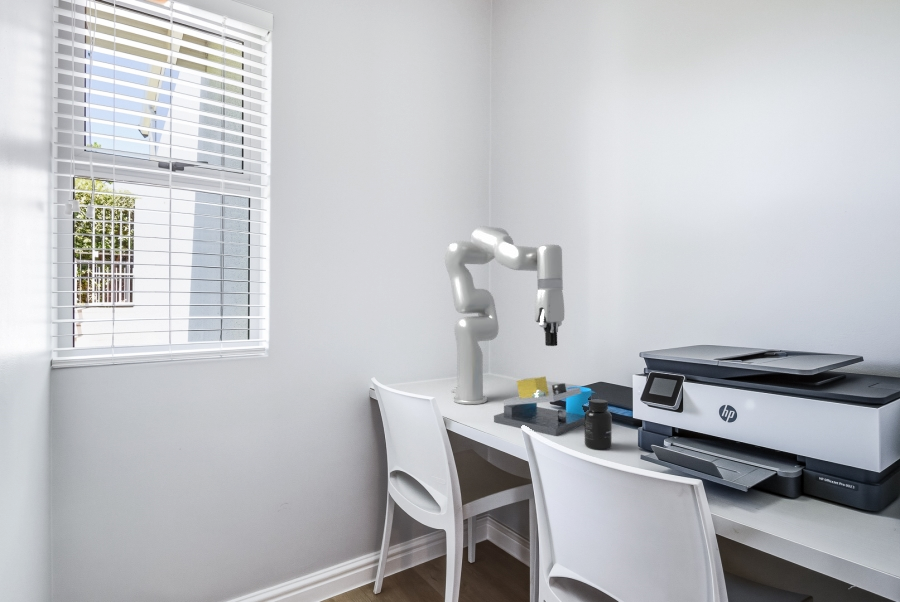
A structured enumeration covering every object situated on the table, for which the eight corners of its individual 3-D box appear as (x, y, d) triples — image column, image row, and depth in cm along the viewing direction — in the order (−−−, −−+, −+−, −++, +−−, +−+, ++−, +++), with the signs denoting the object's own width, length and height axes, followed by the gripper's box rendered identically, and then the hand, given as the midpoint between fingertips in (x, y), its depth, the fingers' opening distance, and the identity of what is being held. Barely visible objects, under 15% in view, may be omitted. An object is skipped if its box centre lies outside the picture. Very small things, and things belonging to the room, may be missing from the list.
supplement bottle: (613, 451, 123) (613, 404, 122) (586, 449, 124) (586, 403, 124) (609, 442, 129) (609, 398, 129) (583, 441, 130) (583, 397, 130)
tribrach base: (493, 422, 151) (493, 406, 151) (528, 411, 165) (528, 396, 165) (555, 435, 136) (555, 418, 136) (587, 422, 150) (587, 406, 150)
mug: (575, 417, 156) (575, 392, 156) (561, 411, 164) (561, 387, 164) (606, 414, 160) (606, 389, 160) (590, 408, 168) (590, 385, 168)
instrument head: (504, 405, 150) (500, 383, 151) (533, 397, 162) (529, 377, 162) (553, 401, 138) (549, 378, 139) (581, 393, 149) (577, 371, 150)
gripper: (552, 286, 155) (553, 343, 155) (525, 285, 144) (527, 347, 144) (573, 285, 150) (574, 344, 150) (547, 284, 139) (548, 348, 139)
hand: (551, 345), depth 147 cm, fingers closed
